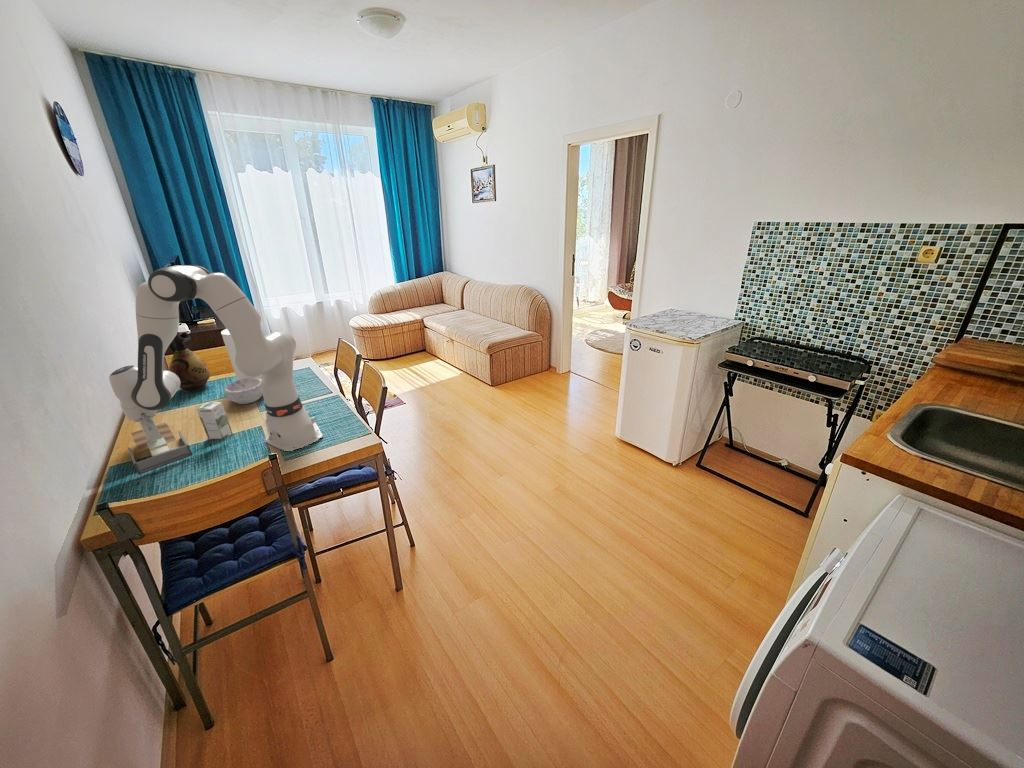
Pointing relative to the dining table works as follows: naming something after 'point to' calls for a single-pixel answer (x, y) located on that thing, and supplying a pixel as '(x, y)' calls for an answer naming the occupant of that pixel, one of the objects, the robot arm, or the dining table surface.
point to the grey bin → (162, 458)
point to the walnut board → (142, 441)
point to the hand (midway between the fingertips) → (156, 442)
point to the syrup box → (214, 420)
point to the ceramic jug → (188, 365)
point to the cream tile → (159, 450)
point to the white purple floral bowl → (244, 390)
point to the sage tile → (157, 444)
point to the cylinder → (234, 355)
